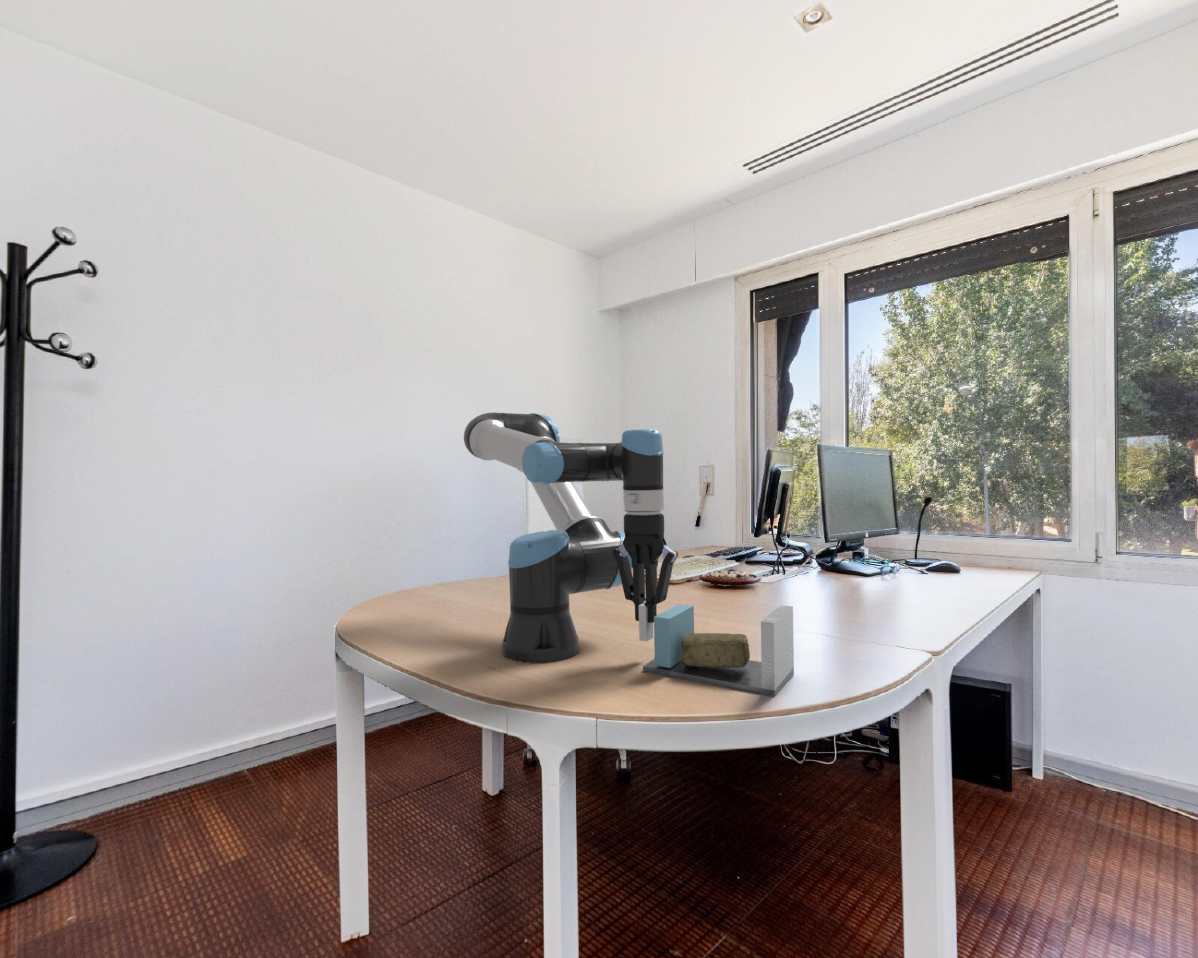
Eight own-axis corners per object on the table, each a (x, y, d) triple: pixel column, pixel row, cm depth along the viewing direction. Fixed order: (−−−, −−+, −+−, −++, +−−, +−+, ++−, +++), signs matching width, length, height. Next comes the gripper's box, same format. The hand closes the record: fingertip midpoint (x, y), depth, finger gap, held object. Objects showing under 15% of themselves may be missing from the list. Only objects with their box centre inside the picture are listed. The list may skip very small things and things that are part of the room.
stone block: (748, 670, 95) (745, 640, 96) (679, 669, 99) (677, 640, 99) (751, 659, 101) (748, 630, 101) (686, 658, 105) (684, 631, 105)
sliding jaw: (654, 665, 101) (653, 616, 101) (679, 648, 110) (678, 604, 110) (670, 667, 100) (669, 618, 99) (694, 650, 109) (693, 605, 108)
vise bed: (642, 674, 102) (641, 606, 101) (671, 655, 112) (670, 593, 112) (774, 700, 89) (773, 623, 89) (793, 675, 100) (792, 606, 99)
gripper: (603, 513, 108) (606, 639, 108) (666, 515, 101) (669, 649, 101) (623, 510, 114) (625, 629, 115) (684, 512, 107) (686, 638, 108)
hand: (646, 638), depth 108 cm, fingers closed
